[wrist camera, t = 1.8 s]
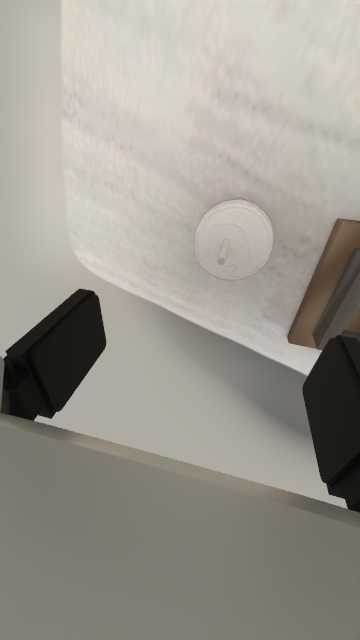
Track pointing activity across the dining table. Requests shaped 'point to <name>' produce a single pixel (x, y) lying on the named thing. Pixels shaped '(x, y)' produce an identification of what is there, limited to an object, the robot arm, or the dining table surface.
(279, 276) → the dining table surface
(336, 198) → the dining table surface
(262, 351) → the dining table surface
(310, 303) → the socket block
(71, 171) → the dining table surface
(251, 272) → the smoothie
